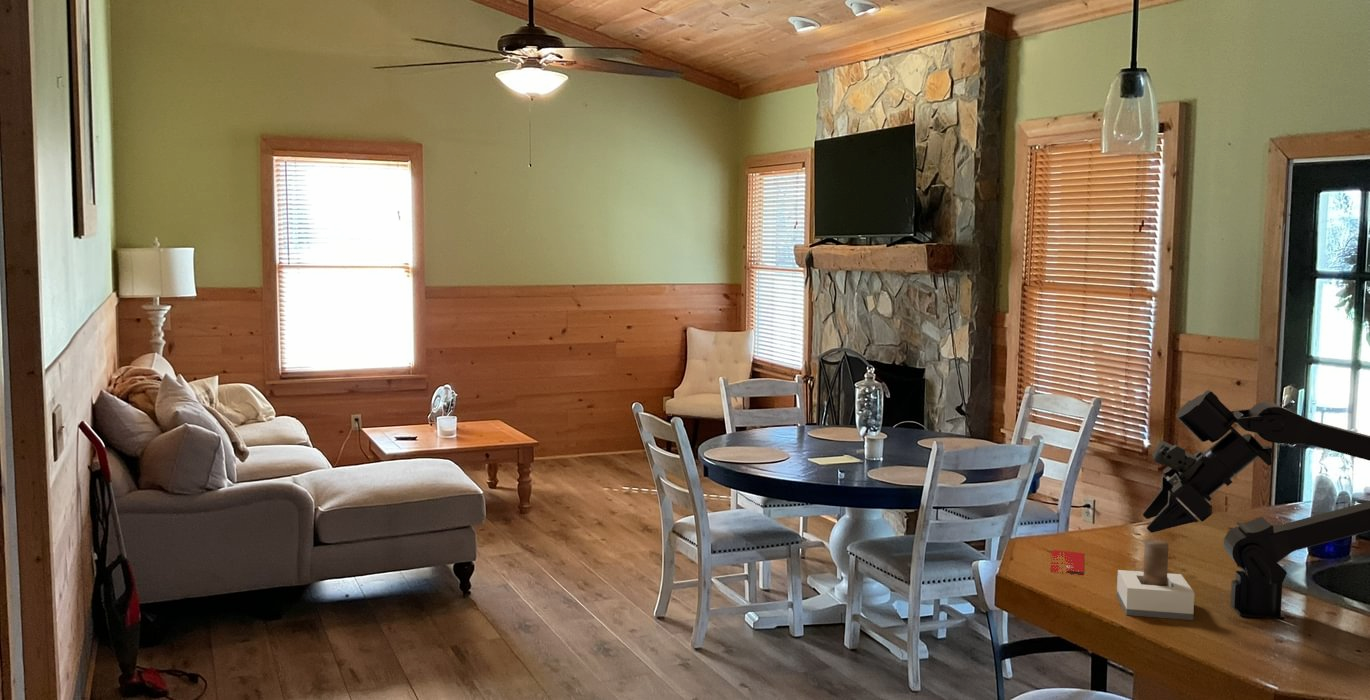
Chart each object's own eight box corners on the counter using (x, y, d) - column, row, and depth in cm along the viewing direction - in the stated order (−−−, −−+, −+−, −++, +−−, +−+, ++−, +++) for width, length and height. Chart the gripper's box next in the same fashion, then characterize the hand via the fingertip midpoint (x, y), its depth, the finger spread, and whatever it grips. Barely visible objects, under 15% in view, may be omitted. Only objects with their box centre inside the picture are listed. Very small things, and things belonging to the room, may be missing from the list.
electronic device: (1052, 552, 211) (1050, 574, 197) (1052, 549, 211) (1050, 571, 197) (1083, 555, 209) (1083, 577, 195) (1083, 552, 209) (1084, 574, 195)
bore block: (1179, 600, 181) (1181, 574, 181) (1193, 620, 171) (1194, 592, 171) (1116, 595, 183) (1117, 569, 183) (1126, 615, 174) (1127, 587, 173)
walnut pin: (1163, 598, 178) (1166, 540, 177) (1168, 606, 175) (1170, 546, 174) (1140, 597, 179) (1142, 539, 178) (1144, 604, 176) (1147, 545, 175)
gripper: (1178, 417, 184) (1108, 476, 189) (1191, 435, 167) (1113, 500, 172) (1228, 464, 183) (1155, 523, 187) (1245, 488, 165) (1165, 552, 170)
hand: (1146, 523), depth 179 cm, fingers open, 9 cm apart
